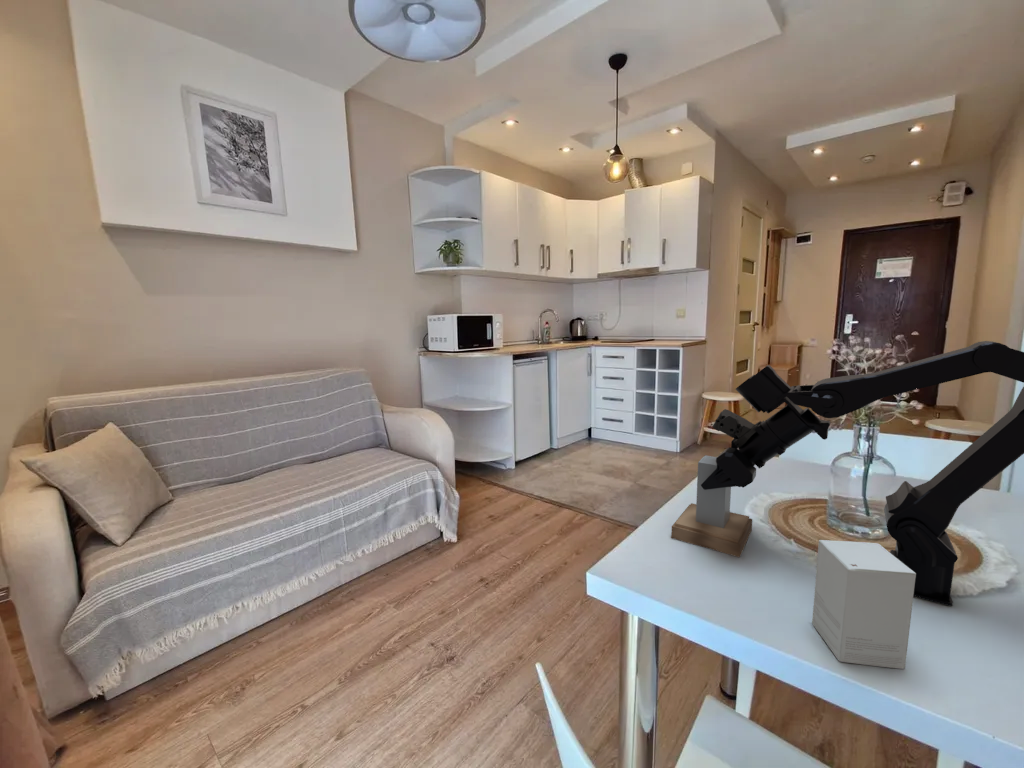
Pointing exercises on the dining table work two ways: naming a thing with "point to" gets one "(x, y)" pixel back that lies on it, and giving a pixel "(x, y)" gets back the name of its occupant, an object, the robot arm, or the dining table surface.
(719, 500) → the block
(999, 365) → the robot arm
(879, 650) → the supplement box
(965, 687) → the dining table surface
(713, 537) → the walnut stand
